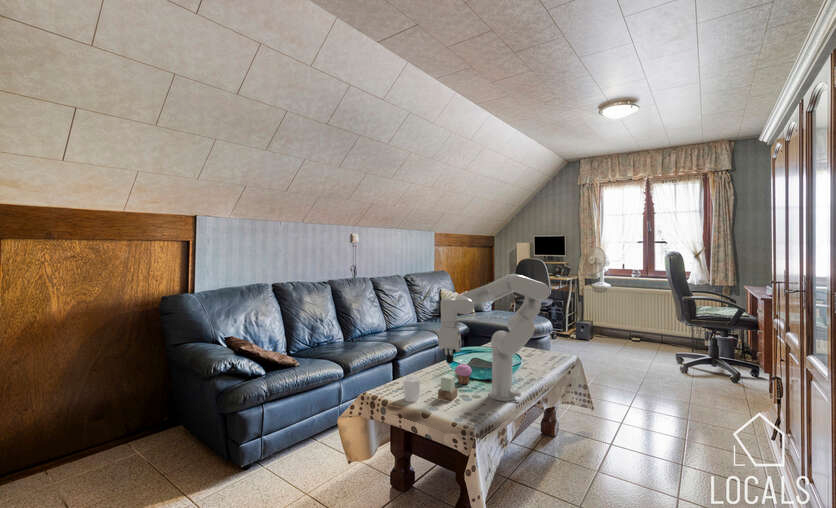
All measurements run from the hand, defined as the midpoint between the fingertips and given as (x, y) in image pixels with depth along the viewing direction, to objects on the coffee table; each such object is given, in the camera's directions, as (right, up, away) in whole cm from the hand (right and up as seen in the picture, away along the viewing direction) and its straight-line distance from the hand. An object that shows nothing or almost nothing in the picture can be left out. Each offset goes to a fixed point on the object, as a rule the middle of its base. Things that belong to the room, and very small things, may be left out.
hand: (449, 362), depth 186 cm
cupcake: (+9, -17, +22) cm, 29 cm away
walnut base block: (-1, -17, 0) cm, 17 cm away
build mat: (-1, -17, 0) cm, 17 cm away
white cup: (-18, -17, -3) cm, 25 cm away
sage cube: (-1, -13, 0) cm, 13 cm away
